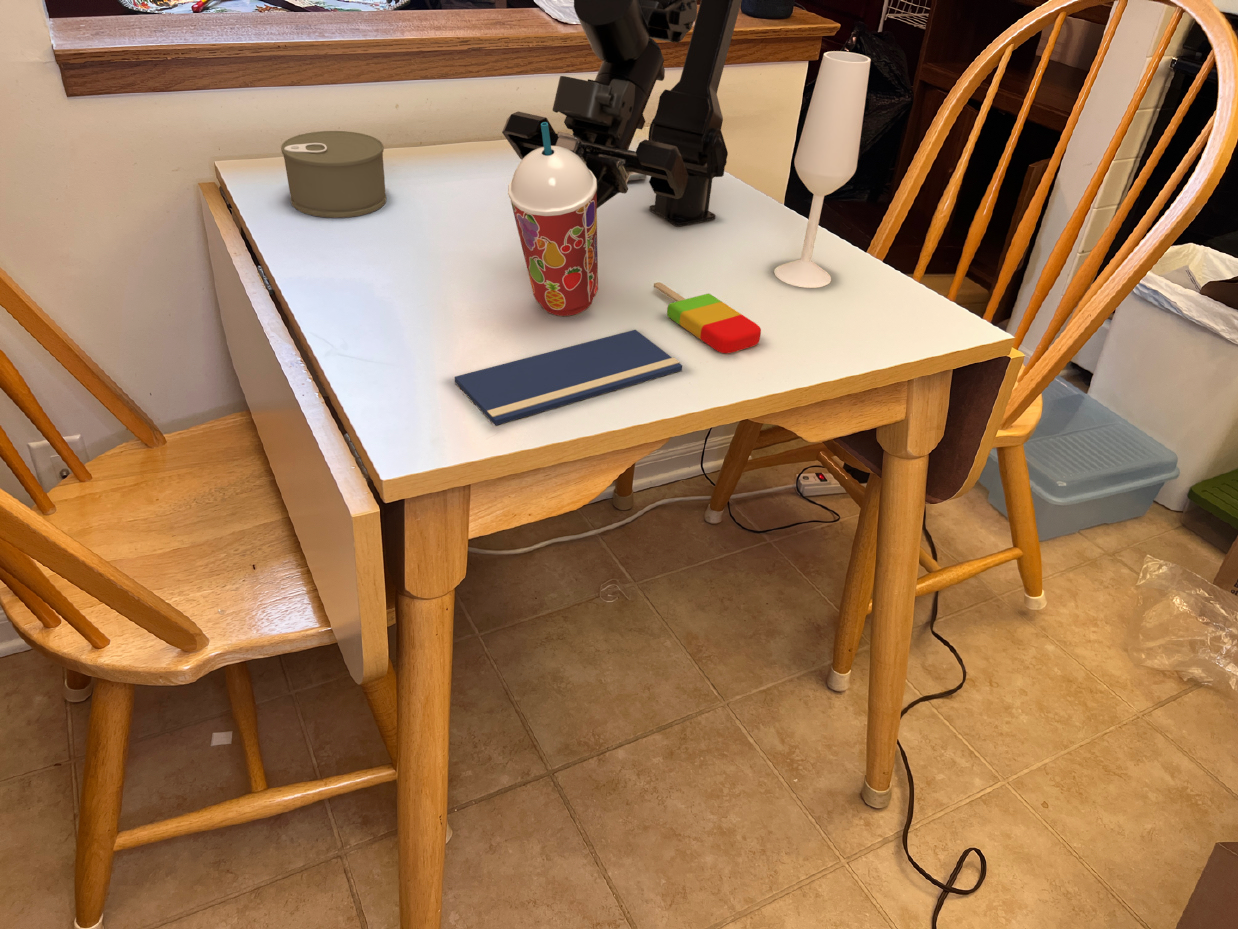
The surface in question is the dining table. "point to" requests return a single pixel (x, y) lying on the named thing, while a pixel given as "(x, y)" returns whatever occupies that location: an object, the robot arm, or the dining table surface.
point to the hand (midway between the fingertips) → (564, 230)
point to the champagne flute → (828, 149)
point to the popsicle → (712, 321)
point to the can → (335, 173)
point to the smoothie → (557, 226)
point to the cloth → (565, 376)
